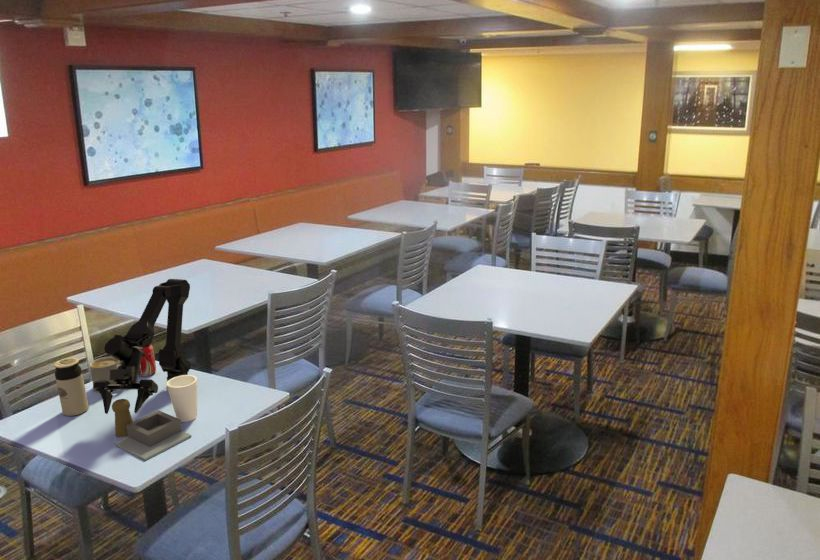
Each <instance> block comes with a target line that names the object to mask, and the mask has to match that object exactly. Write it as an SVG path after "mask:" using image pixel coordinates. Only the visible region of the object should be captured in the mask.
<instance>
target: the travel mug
mask: <svg viewBox="0 0 820 560" xmlns="http://www.w3.org/2000/svg"><path fill="white" fill-rule="evenodd" d="M79 362H80V359H79V358H78V357H66V358H62V359H59V360H57V361H56V362H54V363H53V367H55V372H54V377H55V383H56V386H57V391H58V392H57V393H58V396H59V401H60V406H61V412H62V414H63V415H64V416H69V417H74V416H78V415H82V414H83V413H85V412H87V411H88V410H89V407H90V406H89V402H88V401H89V400H88V395H87V391H86V386H85V385H86V384H85V381H84V376H83V370H82V367H81V366H80V365H79Z"/></svg>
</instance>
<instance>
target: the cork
mask: <svg viewBox="0 0 820 560" xmlns="http://www.w3.org/2000/svg"><path fill="white" fill-rule="evenodd" d="M111 408H112V409H111V410H112V411H113V412H114V430H115V431H114V434H115V437H117V438H127V437H128V433H127V427H126V425H128V424H130V423H132V422H134V421H133V417H132V415H131V412H130V408H131V403H130V401H129V400H128V399H126V398H120V399H116V400H115V401H113V403H111Z"/></svg>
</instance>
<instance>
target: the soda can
mask: <svg viewBox="0 0 820 560" xmlns="http://www.w3.org/2000/svg"><path fill="white" fill-rule="evenodd" d="M133 348H137V349H142V350H143V352H144V353H145V355H146V357H141V362H140V367H139V371H140V375H139V376H141V377H143V376H145V377H150V376H152V375H154V374H155V373H156V372H157V365H156V364H157V363H156V358H155V353H154V352H155V351H154V347H153V345H152V343H151V344H150V346H149V347H146V348H144V347H134V346H133ZM153 373H154V374H153ZM149 375H150V376H149Z"/></svg>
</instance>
